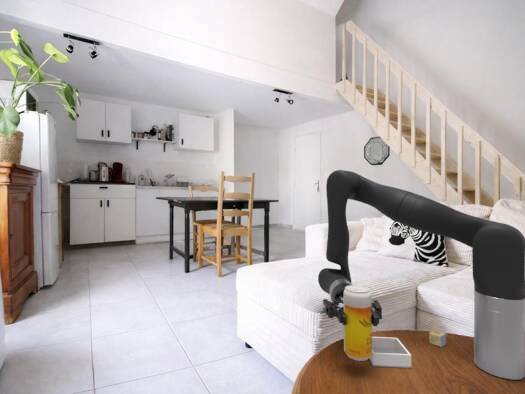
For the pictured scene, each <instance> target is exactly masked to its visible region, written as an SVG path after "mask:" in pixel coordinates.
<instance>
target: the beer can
mask: <svg viewBox="0 0 525 394" xmlns="http://www.w3.org/2000/svg"><path fill="white" fill-rule="evenodd" d="M372 297H373V296H372V292H371V290H370V288H369V287H367V286H364V285H357V284H353V285H349V286H346V287H345V290H344V292H343V298H344V313H345V314H346V325H343V351H344V353H345V354H346V356H347V357H348V358H349V359H351V360H353V361H354V360H355V361H360V362H361V361H362V362H363V361H367V360H369V357H370V356H371V355H372V337H373V324H372V302H373V300H372V299H373V298H372Z"/></svg>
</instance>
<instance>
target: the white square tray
mask: <svg viewBox="0 0 525 394" xmlns="http://www.w3.org/2000/svg"><path fill="white" fill-rule="evenodd" d="M368 360H369V362H370V363H371V366H372V367H377V368H393V369H394V368H396V369H412V353H410V352H409V351H408V349H407V348H406V347H405V345H404V344H403V343H402V342H401V341H400V339H399V338H398V337H388V336H372V355H371V356H370V357H369V359H368Z"/></svg>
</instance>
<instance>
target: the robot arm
mask: <svg viewBox="0 0 525 394" xmlns="http://www.w3.org/2000/svg"><path fill="white" fill-rule="evenodd" d="M325 188H326V189H325V191H326V203H327V220H328V221H327V225H328V226H327V229H328V230H327V231H328V232H327V242H326V253H325V258H326V260H327V261H328V262H330V263H333V264H336V265H338V266H339V267H340V268H339V269H338V268H330V267H329V268H328V267H326V268H324V267H323V268H322V269H321V270H320V271H319V272H318V273H319V274H318V276H317V277H318V278H317V279H318V280H317V281H318V285H319V287H320V288H321V290H322V291H323V292H325V293H327V295H329V297H330V300H329V299H326V298H324V299H323V300H322V310H323V312H324V313H325V315H326V316H327V318H330V319H334V317H335V318H336V319H337V320H338V323H340V324H342V326H344V325H346V314H345V313H344V298H343V292H344V290H345V287H346V286H349V285H354V284H353V282H352V278H351V272H350V268H349V267H350V265H349V253H350V252H349V250H350V231H349V226H348V222H347V204H348V200H352V201H356V202H359V203H363V204H364V205H365V204H366V205H368V206H371V207H372V208H374V209H375V210H377V211H378V212H380V213H381V214H382V215H384V216H385V217H387V218H389V219H391V220H392V221H394V222H396V223H399V224H401V225H403V226H406V227H408V228H412V229H413V230H416V231H417V230H418V231H421V232H423V233H428V234H431V235H437V236H440V237H441V236H442V237H445V238H449V239H452V240H454V241H457V242H459V243H461V244H463V245H466V246H468V247H470V248H472V250H471V253H472V254H471V255H472V256H471V257H472V258H471V259H472V280H473V283H474V290H473V291H474V292H473V293H474V294H473V295H474V296H473V297H474V298H473V299H474V300H473V303H474V304H473V305H474V306H473V311H474V313H473V316H474V317H473V319H474V320H473V321H474V322H473V362H474V364H475V365H476V367H478V368H479V369H480V370H482V371H484V372H485V373H488V374H490V375H493V376H496V377H499V378H502V379H507V380H512V381H513V380H515V381H516V380H517V381H518V380H523V379H524V378H525V236H524V234H523V233H522V232H521V231H520V230H519V229H517V228H516V227H514V226H512V225H510V224H507V223H504V222H497V221H494V220H489V219H485V218H481V217H478V216H474V215H471V214H467V213H464V212H461V211H459V210H457V209H454V208H452V207H450V206H447V205H445V204H443V203H441V202H438V201H436V200H433V199H432V198H428V197H426V196H423V195H420V194H417V193H414V192H412V191H409V190H404V189H402V188H398V187H393V186H389V185H385V184H381V183H378V182H376V181H374V180H371V179H368V178H367V177H365V176H362V175H360V174H359V173H356V172H354V171H350V170H342V169H338V170H334V171H332V172H331V173H330V174H329V175H328V177H327V178H326V186H325ZM382 313H383V308H382V305H381V304H380V302H379V300H377V299H374V300H372V327H378V325H380V320H383V315H382Z"/></svg>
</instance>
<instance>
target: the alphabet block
mask: <svg viewBox="0 0 525 394" xmlns="http://www.w3.org/2000/svg"><path fill="white" fill-rule="evenodd" d="M428 335H429V341H428V342H429V344H432V345H434V346H437V347H440V348H443V347H445V345H447V333H446V332H443V331H439V330H436V329H433V330H431V331H429V334H428Z"/></svg>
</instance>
